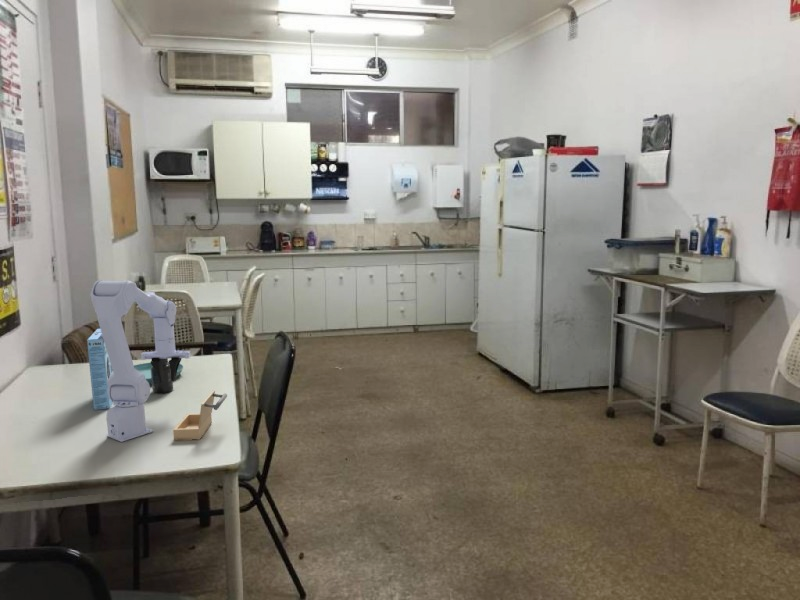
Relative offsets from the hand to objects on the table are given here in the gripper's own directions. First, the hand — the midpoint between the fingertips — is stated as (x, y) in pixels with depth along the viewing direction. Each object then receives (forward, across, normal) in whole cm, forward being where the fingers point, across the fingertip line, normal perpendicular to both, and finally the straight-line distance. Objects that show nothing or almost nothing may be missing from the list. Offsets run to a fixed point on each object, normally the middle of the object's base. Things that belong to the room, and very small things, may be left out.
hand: (167, 380), depth 190 cm
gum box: (+10, +24, -11) cm, 29 cm away
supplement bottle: (+10, +9, -20) cm, 24 cm away
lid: (+3, -17, +20) cm, 27 cm away
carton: (+9, -13, +20) cm, 26 cm away
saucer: (+10, +20, -39) cm, 45 cm away
